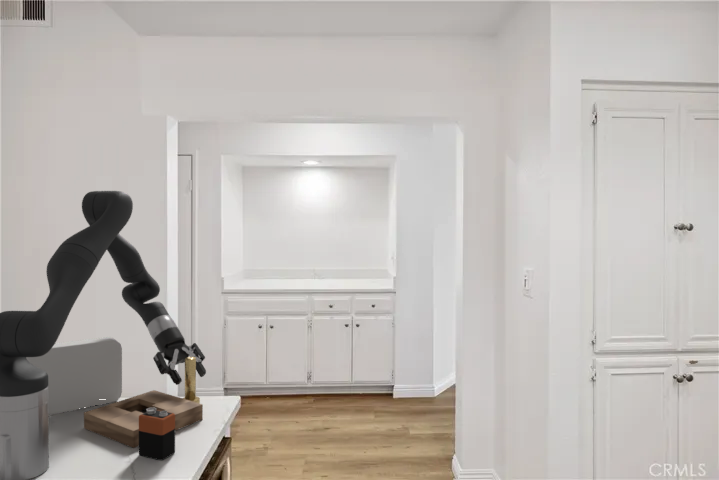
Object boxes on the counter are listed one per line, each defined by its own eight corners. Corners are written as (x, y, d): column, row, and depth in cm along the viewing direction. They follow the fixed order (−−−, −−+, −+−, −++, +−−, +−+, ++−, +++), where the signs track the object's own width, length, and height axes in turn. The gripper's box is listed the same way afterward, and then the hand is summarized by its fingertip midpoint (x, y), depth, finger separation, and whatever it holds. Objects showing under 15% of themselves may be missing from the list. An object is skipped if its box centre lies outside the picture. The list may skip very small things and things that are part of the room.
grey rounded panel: (115, 393, 149) (115, 334, 148) (122, 401, 143) (122, 339, 143) (-3, 416, 131) (-3, 348, 130) (0, 425, 125) (-1, 354, 124)
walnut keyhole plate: (133, 448, 113) (133, 430, 113) (84, 428, 124) (84, 412, 124) (202, 419, 131) (202, 404, 130) (153, 404, 141) (153, 390, 141)
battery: (152, 447, 114) (152, 404, 114) (176, 452, 112) (176, 409, 111) (137, 455, 110) (137, 411, 110) (162, 461, 107) (162, 415, 107)
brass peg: (188, 408, 138) (189, 361, 138) (176, 404, 141) (176, 359, 141) (203, 402, 143) (203, 357, 142) (191, 398, 146) (191, 355, 145)
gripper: (150, 330, 139) (177, 377, 134) (191, 322, 152) (217, 365, 146) (138, 346, 142) (164, 393, 137) (179, 337, 154) (204, 380, 149)
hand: (191, 379), depth 141 cm, fingers open, 8 cm apart
